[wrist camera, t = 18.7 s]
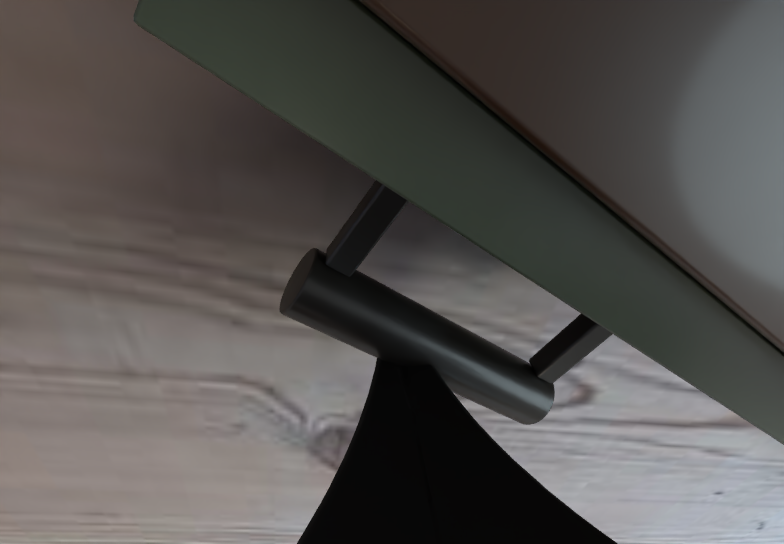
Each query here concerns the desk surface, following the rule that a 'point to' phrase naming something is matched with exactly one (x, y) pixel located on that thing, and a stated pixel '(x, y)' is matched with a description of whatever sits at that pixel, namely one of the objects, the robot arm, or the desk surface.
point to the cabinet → (641, 117)
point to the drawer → (461, 213)
